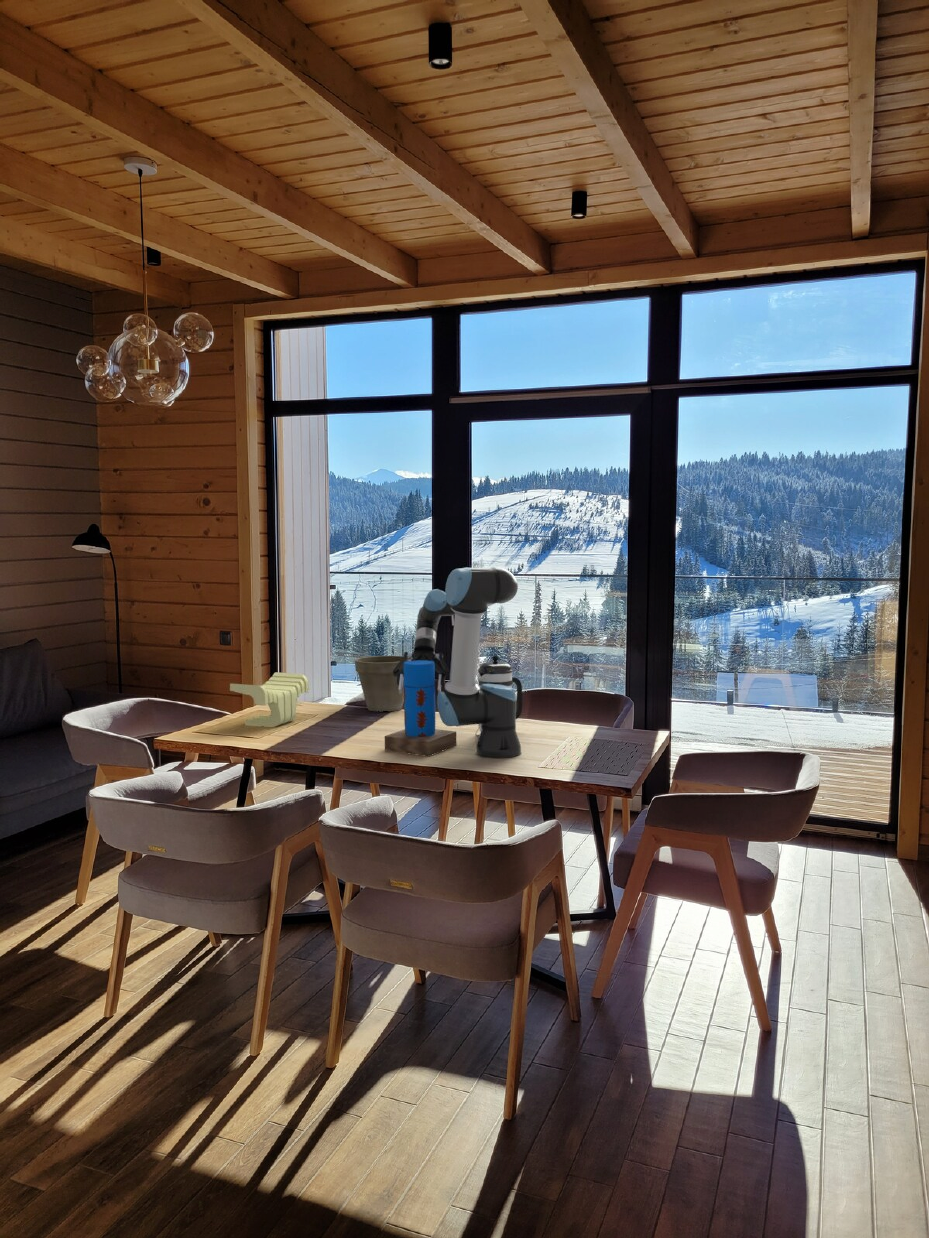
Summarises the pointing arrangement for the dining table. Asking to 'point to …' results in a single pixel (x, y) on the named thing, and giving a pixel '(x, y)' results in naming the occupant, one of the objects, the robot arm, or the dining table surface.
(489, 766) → the dining table surface
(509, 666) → the coffee press
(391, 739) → the block
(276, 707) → the pale green ribbed part
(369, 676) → the plant pot
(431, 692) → the thermos
